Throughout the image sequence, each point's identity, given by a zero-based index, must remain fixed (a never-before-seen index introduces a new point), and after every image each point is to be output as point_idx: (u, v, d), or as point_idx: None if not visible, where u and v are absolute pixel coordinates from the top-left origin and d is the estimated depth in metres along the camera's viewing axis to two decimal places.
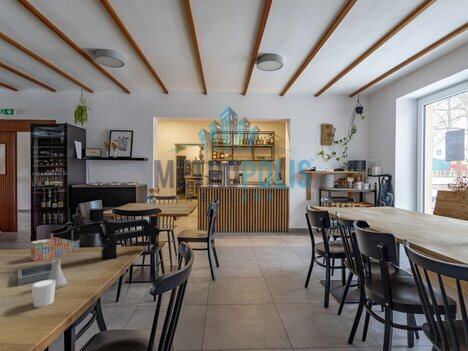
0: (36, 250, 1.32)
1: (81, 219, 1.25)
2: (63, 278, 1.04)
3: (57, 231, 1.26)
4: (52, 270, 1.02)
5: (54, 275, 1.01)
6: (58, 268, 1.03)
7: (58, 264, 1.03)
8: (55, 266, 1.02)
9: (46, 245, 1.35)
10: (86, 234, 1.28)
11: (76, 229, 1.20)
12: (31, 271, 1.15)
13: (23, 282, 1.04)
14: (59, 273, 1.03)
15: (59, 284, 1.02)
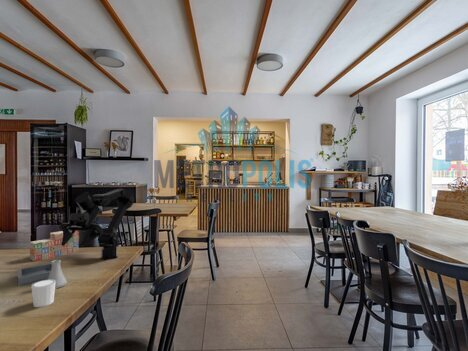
0: (35, 250, 1.32)
1: (87, 216, 1.15)
2: (63, 278, 1.04)
3: (65, 239, 1.14)
4: (52, 270, 1.02)
5: (53, 275, 1.01)
6: (58, 268, 1.03)
7: (58, 264, 1.03)
8: (55, 266, 1.02)
9: (45, 245, 1.35)
10: (94, 221, 1.22)
11: (98, 226, 1.15)
12: (31, 271, 1.15)
13: (23, 282, 1.04)
14: (59, 273, 1.03)
15: (59, 284, 1.02)
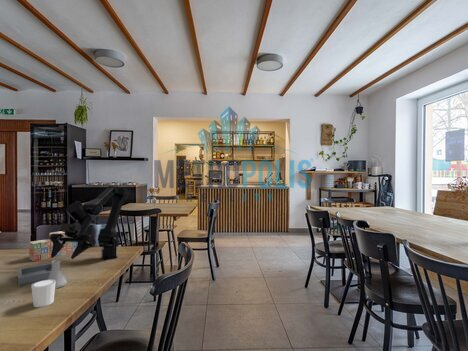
0: (35, 250, 1.32)
1: (78, 226, 1.09)
2: (63, 278, 1.04)
3: (55, 251, 1.09)
4: (52, 270, 1.02)
5: (53, 275, 1.01)
6: (58, 268, 1.03)
7: (58, 264, 1.03)
8: (55, 266, 1.02)
9: (44, 245, 1.35)
10: (86, 231, 1.17)
11: (89, 237, 1.09)
12: (31, 271, 1.15)
13: (23, 282, 1.04)
14: (59, 273, 1.03)
15: (59, 284, 1.02)
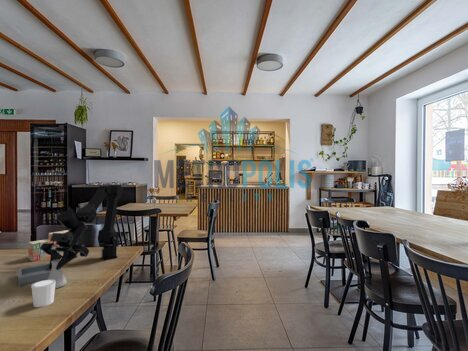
0: (34, 250, 1.31)
1: (70, 236, 1.05)
2: (63, 278, 1.04)
3: None
4: (52, 270, 1.02)
5: (53, 275, 1.01)
6: None
7: None
8: (55, 266, 1.02)
9: None
10: (79, 240, 1.13)
11: (82, 247, 1.05)
12: (31, 271, 1.15)
13: (23, 282, 1.04)
14: (59, 273, 1.03)
15: (59, 284, 1.02)
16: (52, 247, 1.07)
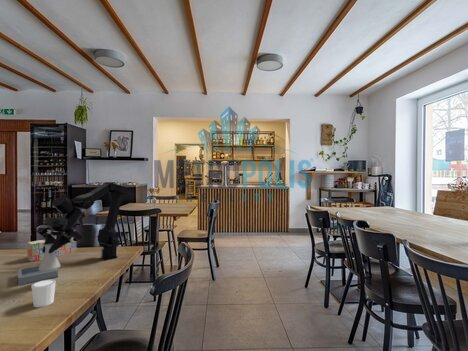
0: (33, 251, 1.31)
1: (62, 220, 1.06)
2: (56, 262, 1.05)
3: None
4: (45, 253, 1.04)
5: (46, 258, 1.03)
6: None
7: None
8: (48, 250, 1.04)
9: None
10: (74, 226, 1.14)
11: (73, 232, 1.05)
12: (31, 271, 1.15)
13: (23, 282, 1.04)
14: (52, 256, 1.04)
15: (52, 267, 1.03)
16: (47, 231, 1.09)
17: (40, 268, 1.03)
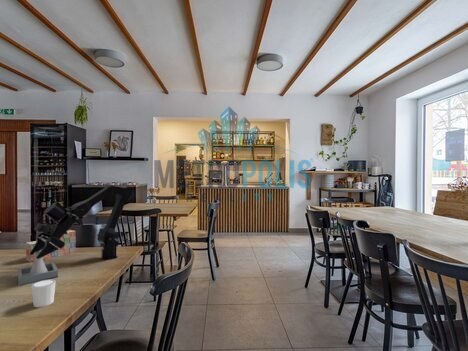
0: None
1: (48, 227, 1.12)
2: (41, 269, 1.11)
3: (36, 249, 1.15)
4: (34, 260, 1.12)
5: (33, 265, 1.11)
6: (38, 259, 1.11)
7: None
8: (35, 257, 1.11)
9: None
10: (65, 232, 1.19)
11: (53, 239, 1.09)
12: None
13: (23, 282, 1.04)
14: (38, 264, 1.11)
15: None
16: None
17: (29, 273, 1.11)
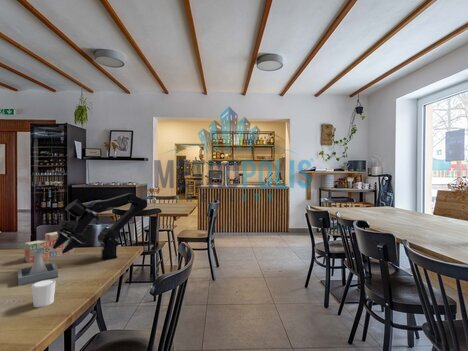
0: (30, 251, 1.30)
1: (71, 224, 1.19)
2: (41, 269, 1.11)
3: (58, 243, 1.23)
4: (34, 260, 1.12)
5: (33, 265, 1.11)
6: (38, 259, 1.11)
7: (38, 255, 1.11)
8: (35, 257, 1.11)
9: (40, 246, 1.33)
10: (86, 228, 1.26)
11: (77, 235, 1.17)
12: None
13: (23, 282, 1.04)
14: (38, 264, 1.11)
15: None
16: None
17: (29, 273, 1.11)
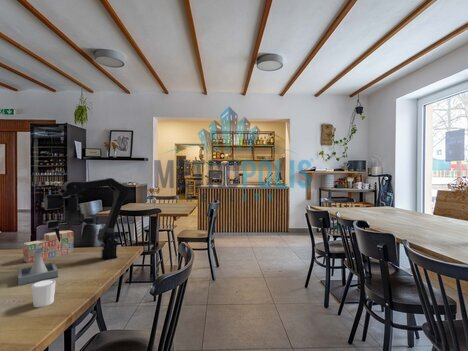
0: (29, 251, 1.30)
1: None
2: (41, 269, 1.11)
3: (59, 235, 1.21)
4: (34, 260, 1.12)
5: (33, 265, 1.11)
6: (38, 259, 1.11)
7: (38, 255, 1.11)
8: (35, 257, 1.11)
9: (39, 247, 1.33)
10: None
11: (93, 220, 1.28)
12: None
13: (23, 282, 1.04)
14: (38, 264, 1.11)
15: None
16: None
17: (29, 273, 1.11)
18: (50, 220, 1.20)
